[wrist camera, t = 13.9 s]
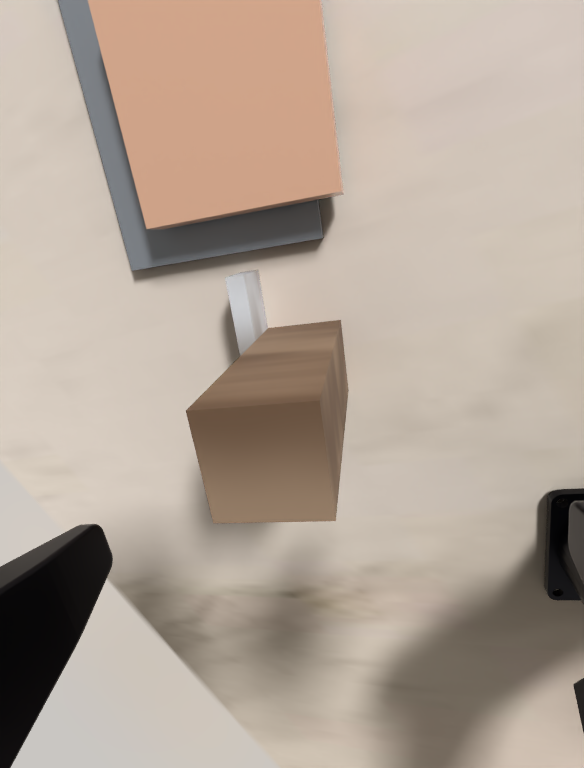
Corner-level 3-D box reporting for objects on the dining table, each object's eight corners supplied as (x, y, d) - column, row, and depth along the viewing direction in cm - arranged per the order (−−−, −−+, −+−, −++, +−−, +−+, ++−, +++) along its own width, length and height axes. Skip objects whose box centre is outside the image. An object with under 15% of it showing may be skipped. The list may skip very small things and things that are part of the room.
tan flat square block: (341, 190, 15) (146, 229, 17) (343, 194, 17) (164, 229, 19) (309, -88, 13) (84, -12, 15) (315, -53, 15) (111, 12, 16)
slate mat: (323, 238, 18) (322, 238, 18) (138, 269, 20) (132, 270, 20) (276, -123, 15) (272, -137, 14) (54, -44, 16) (43, -54, 16)
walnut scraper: (353, 440, 21) (346, 599, 12) (272, 445, 22) (207, 597, 13) (333, 258, 19) (304, 285, 9) (241, 272, 19) (129, 309, 10)
